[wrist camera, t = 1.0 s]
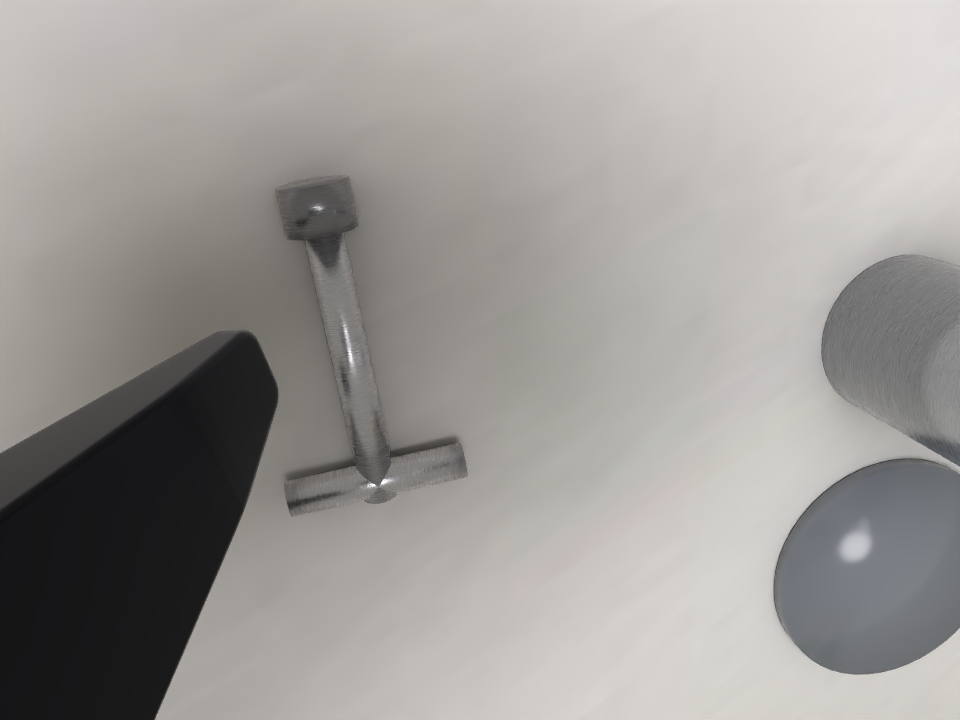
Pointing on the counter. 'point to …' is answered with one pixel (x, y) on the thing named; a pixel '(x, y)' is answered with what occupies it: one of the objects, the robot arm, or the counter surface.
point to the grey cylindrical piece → (901, 348)
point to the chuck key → (350, 362)
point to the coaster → (874, 568)
